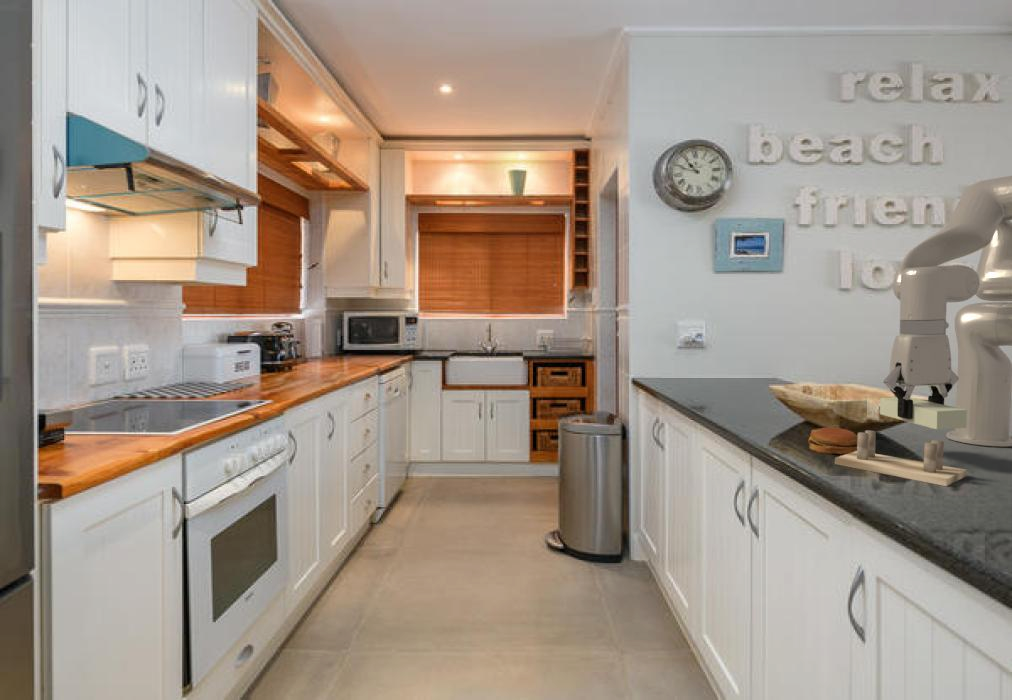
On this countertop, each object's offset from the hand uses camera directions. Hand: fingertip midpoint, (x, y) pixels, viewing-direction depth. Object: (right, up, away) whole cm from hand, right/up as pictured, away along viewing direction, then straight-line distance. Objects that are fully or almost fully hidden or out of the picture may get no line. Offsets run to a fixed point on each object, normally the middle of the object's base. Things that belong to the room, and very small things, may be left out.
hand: (920, 416), depth 116 cm
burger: (-14, -8, +7) cm, 18 cm away
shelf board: (0, -1, 0) cm, 1 cm away
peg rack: (-11, -9, -9) cm, 17 cm away
